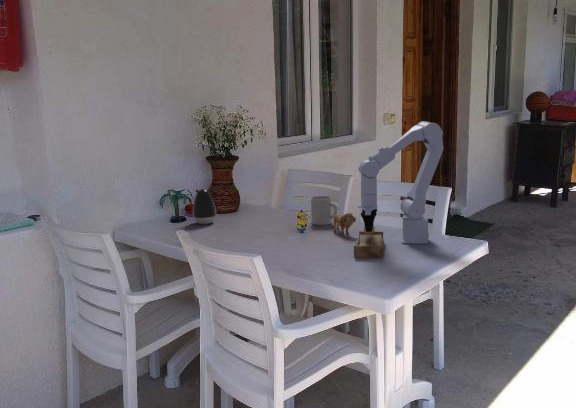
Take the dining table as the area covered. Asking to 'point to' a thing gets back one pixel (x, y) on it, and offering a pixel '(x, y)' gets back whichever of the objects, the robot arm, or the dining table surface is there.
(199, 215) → the dark egg-shaped device
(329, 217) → the mug
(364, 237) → the wooden shadow box
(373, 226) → the ball
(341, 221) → the lion figurine
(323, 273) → the dining table surface
